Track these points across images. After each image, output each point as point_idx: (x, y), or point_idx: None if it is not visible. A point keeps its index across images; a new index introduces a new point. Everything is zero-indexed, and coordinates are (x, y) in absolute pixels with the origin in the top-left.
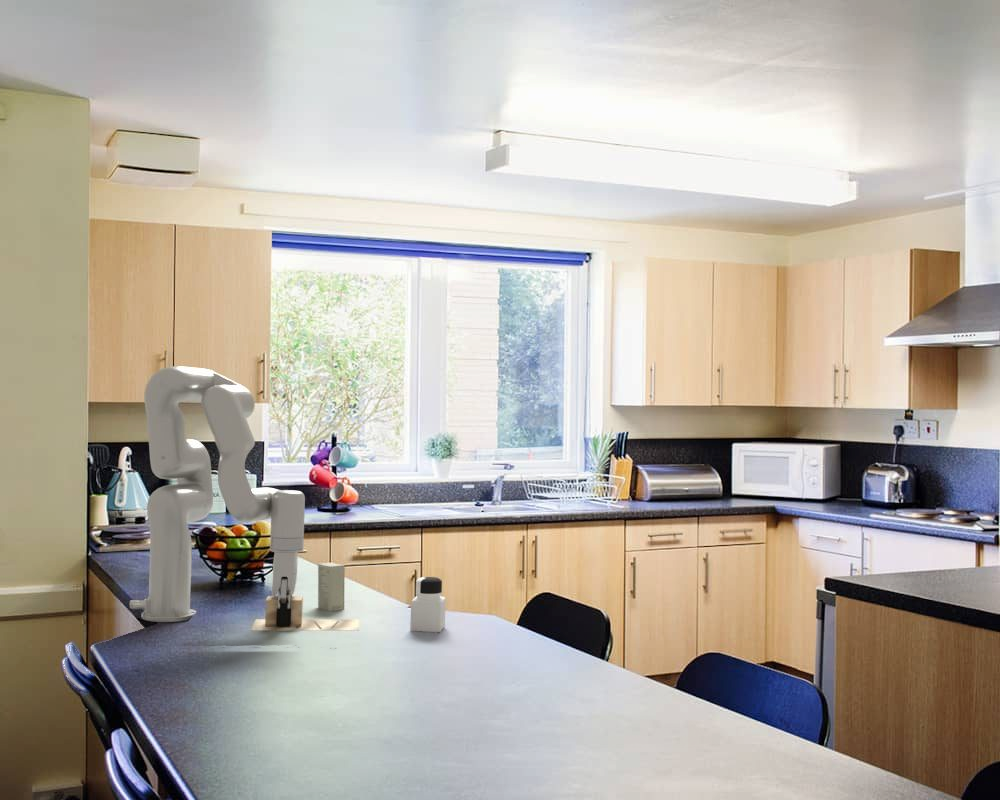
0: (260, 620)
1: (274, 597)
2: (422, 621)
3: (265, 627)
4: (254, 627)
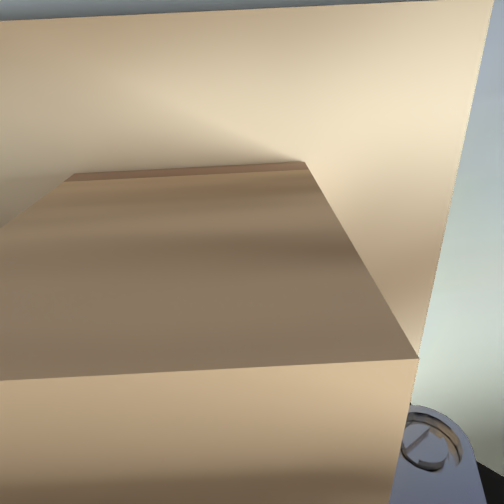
0: (414, 72)
1: (222, 494)
2: None
3: (46, 179)
4: (11, 54)
